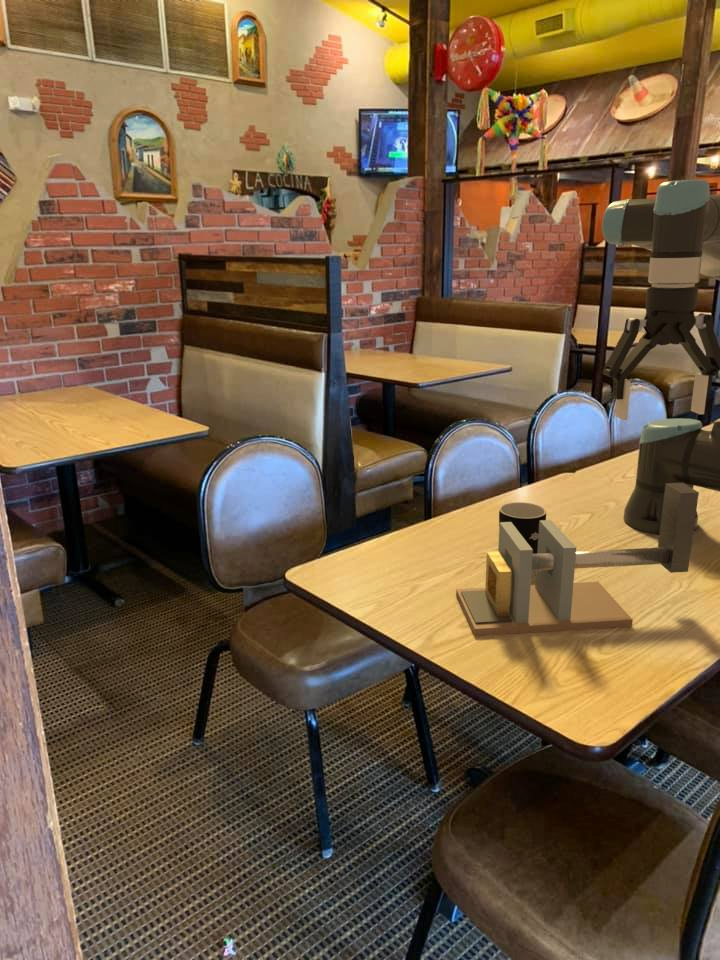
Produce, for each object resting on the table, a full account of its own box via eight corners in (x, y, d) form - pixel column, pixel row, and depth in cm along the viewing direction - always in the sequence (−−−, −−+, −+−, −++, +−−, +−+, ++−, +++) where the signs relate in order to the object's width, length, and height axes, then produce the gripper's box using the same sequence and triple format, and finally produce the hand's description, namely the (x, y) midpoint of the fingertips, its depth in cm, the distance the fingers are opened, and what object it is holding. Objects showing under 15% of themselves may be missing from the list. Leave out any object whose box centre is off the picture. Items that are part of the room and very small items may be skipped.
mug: (529, 571, 137) (532, 521, 134) (488, 559, 143) (490, 511, 140) (557, 551, 146) (561, 504, 143) (518, 540, 152) (520, 495, 148)
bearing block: (597, 587, 130) (604, 515, 126) (631, 626, 117) (640, 546, 113) (456, 595, 128) (458, 522, 124) (474, 635, 115) (477, 555, 111)
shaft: (673, 559, 125) (682, 482, 120) (687, 571, 120) (698, 492, 116) (520, 567, 123) (524, 489, 118) (529, 580, 118) (534, 499, 114)
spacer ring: (496, 593, 126) (498, 551, 123) (509, 615, 118) (511, 571, 116) (485, 594, 126) (486, 551, 123) (497, 616, 118) (499, 572, 115)
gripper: (731, 280, 119) (715, 405, 126) (587, 287, 117) (579, 415, 123) (760, 283, 112) (742, 415, 119) (609, 290, 110) (598, 425, 116)
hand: (659, 415), depth 121 cm, fingers open, 13 cm apart
